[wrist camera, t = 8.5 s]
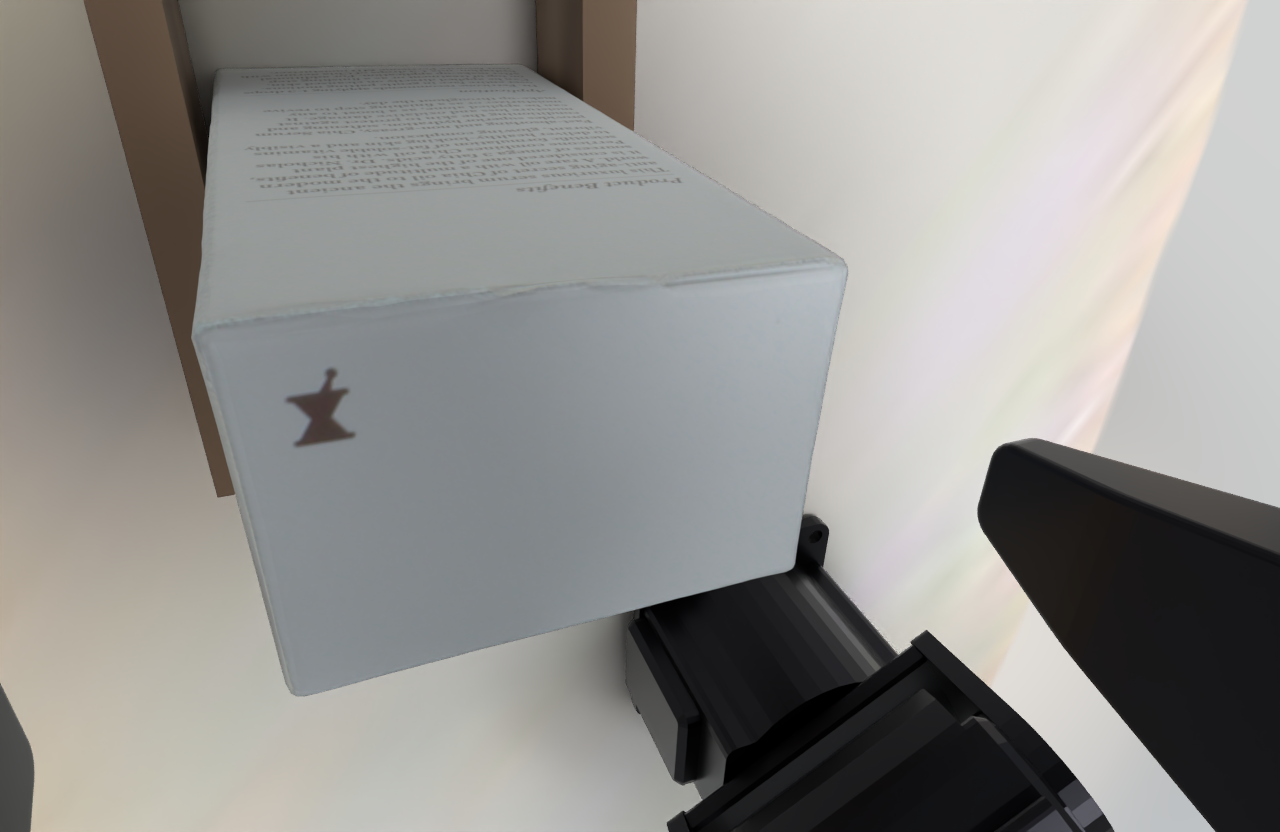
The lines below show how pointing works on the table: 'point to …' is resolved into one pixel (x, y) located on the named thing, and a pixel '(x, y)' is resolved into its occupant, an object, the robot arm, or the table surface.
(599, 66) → the socket block
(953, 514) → the table surface
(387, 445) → the skincare box
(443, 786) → the table surface
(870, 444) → the table surface
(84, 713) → the table surface
